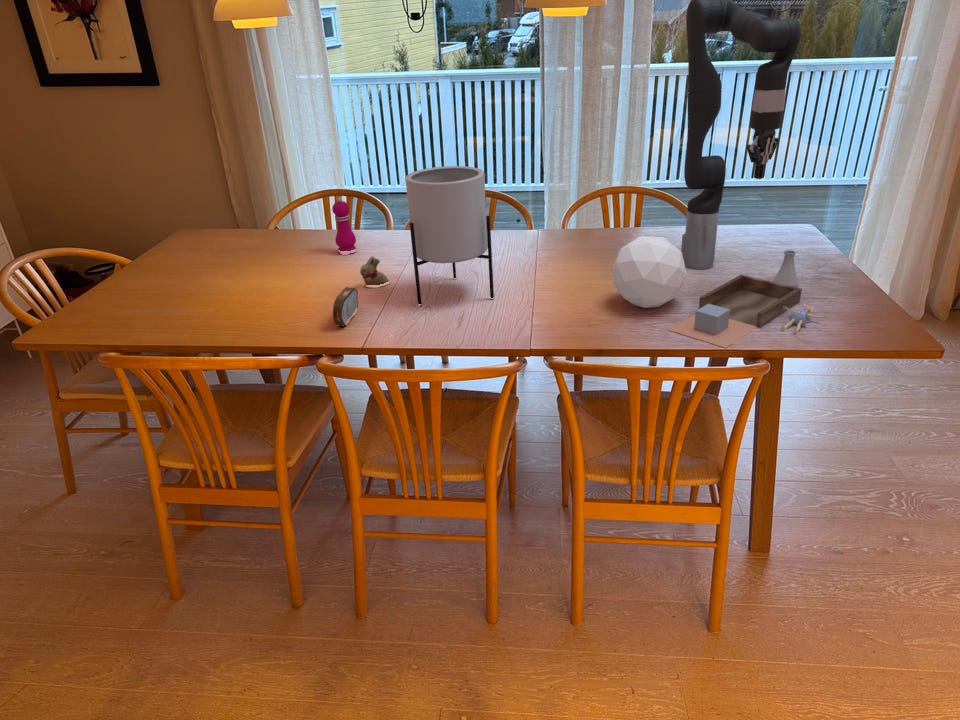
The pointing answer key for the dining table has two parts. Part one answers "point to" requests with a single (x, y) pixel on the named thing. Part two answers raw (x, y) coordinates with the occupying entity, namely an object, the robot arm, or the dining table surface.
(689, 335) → the terracotta mat
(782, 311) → the walnut cubby
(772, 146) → the robot arm
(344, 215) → the pepper mill
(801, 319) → the fairy figurine
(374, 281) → the chocolate bunny
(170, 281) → the dining table surface
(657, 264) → the geometric orb
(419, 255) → the plant pot with stand
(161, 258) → the dining table surface
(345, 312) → the tin
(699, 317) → the slate block
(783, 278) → the flask
